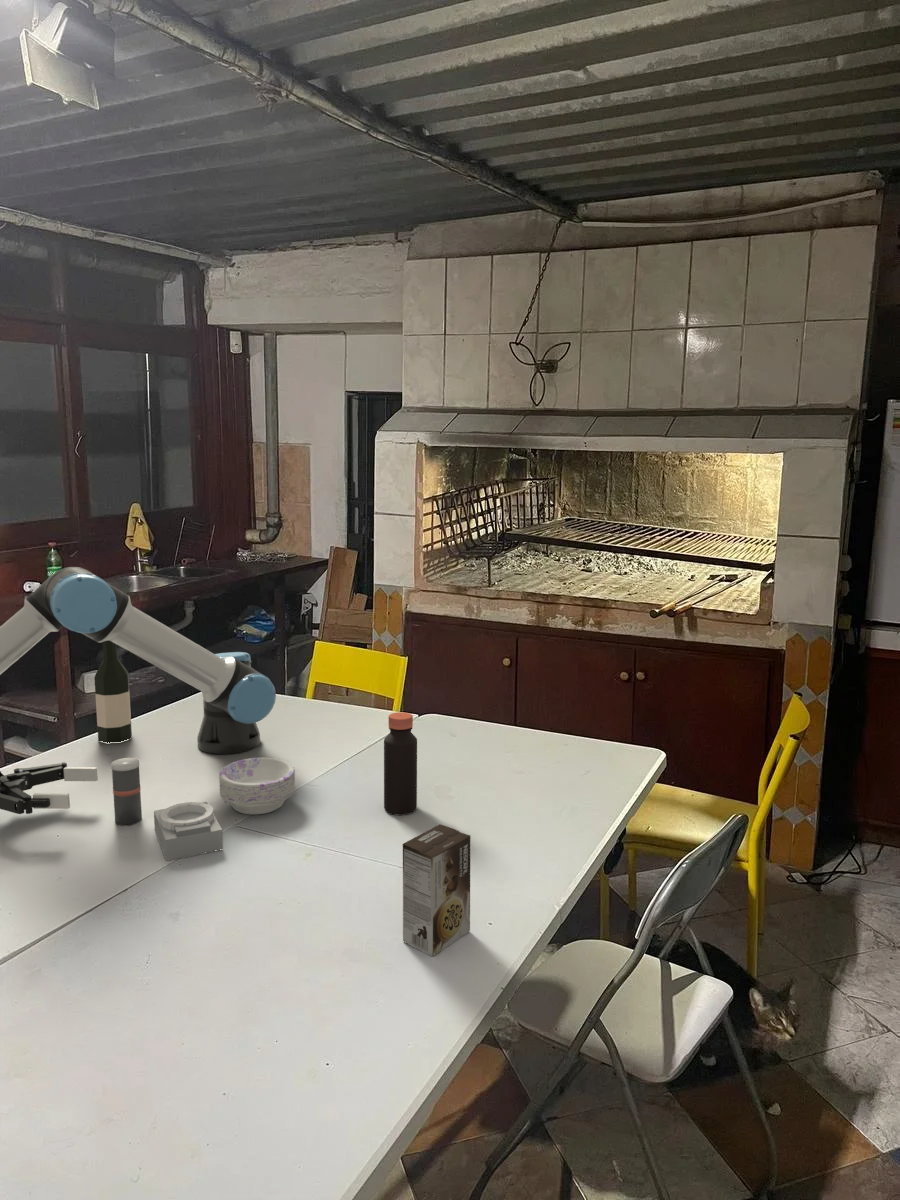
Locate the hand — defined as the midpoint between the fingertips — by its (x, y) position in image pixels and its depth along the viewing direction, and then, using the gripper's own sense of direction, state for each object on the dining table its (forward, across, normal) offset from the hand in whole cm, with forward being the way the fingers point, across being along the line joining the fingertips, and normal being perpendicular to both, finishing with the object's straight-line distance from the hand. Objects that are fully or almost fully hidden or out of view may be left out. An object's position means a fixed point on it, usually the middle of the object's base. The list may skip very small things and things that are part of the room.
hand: (83, 787), depth 172 cm
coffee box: (+70, +41, -7) cm, 81 cm away
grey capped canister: (+8, 0, -7) cm, 11 cm away
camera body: (+23, +8, -7) cm, 25 cm away
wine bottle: (-12, -48, -7) cm, 50 cm away
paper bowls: (+33, -8, -7) cm, 34 cm away
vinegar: (+62, -6, -7) cm, 63 cm away
